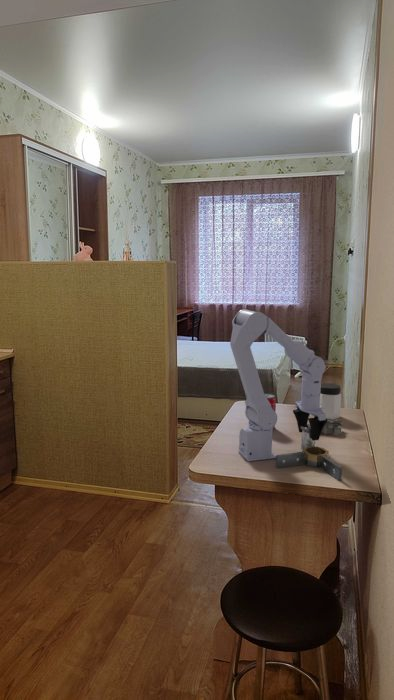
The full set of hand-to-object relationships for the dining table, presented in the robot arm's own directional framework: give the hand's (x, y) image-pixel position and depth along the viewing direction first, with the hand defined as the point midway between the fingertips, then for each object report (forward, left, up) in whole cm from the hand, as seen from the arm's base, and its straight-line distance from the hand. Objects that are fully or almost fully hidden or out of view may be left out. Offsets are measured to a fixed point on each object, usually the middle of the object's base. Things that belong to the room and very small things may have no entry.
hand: (308, 435), depth 156 cm
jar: (+25, +28, -5) cm, 38 cm away
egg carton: (+15, +13, -5) cm, 20 cm away
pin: (0, 0, -4) cm, 4 cm away
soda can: (-4, +22, -5) cm, 23 cm away
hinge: (-8, -15, -4) cm, 17 cm away
